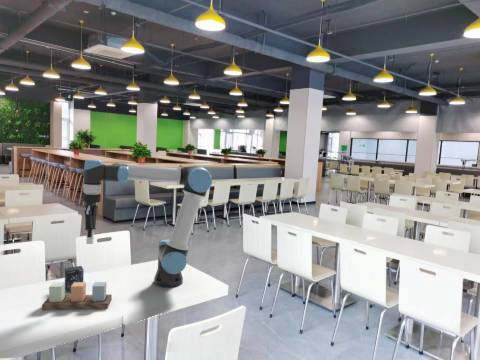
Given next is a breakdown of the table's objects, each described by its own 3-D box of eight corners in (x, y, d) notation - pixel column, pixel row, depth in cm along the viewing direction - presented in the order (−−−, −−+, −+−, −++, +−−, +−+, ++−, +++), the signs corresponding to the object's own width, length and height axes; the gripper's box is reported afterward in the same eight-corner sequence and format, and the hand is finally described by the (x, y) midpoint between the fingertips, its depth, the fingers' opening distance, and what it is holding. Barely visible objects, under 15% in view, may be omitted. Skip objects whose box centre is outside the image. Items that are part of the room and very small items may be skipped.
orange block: (85, 297, 171) (85, 282, 170) (82, 301, 166) (82, 286, 165) (74, 297, 170) (74, 282, 170) (70, 301, 165) (71, 286, 165)
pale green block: (64, 297, 170) (64, 282, 169) (61, 301, 165) (61, 286, 164) (53, 297, 169) (53, 282, 168) (49, 302, 164) (49, 286, 163)
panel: (111, 299, 175) (111, 294, 175) (107, 308, 166) (107, 303, 165) (50, 300, 171) (50, 295, 171) (42, 310, 161) (42, 304, 161)
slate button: (106, 296, 172) (106, 282, 172) (103, 301, 167) (104, 286, 167) (94, 296, 172) (94, 282, 171) (92, 301, 167) (92, 286, 166)
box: (66, 292, 181) (66, 271, 181) (64, 288, 186) (64, 267, 185) (83, 289, 186) (83, 268, 185) (81, 285, 190) (81, 265, 190)
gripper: (87, 191, 178) (85, 239, 180) (79, 194, 165) (76, 246, 167) (104, 192, 179) (101, 240, 181) (96, 195, 166) (94, 247, 168)
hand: (89, 243), depth 174 cm, fingers closed
